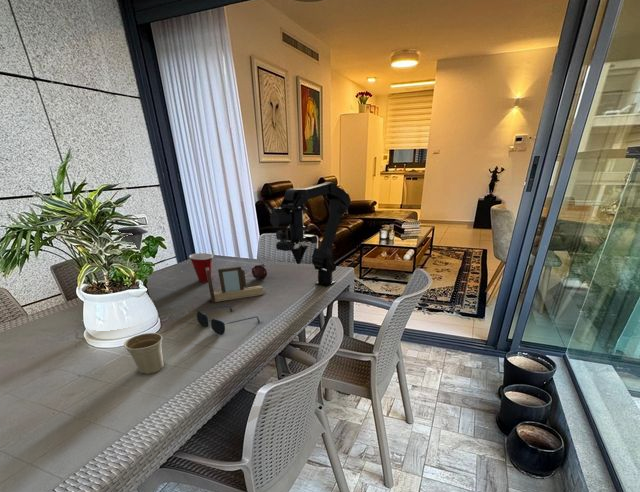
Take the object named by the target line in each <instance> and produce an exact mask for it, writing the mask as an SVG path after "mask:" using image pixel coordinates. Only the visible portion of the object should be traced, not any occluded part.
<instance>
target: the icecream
mask: <svg viewBox="0 0 640 492" xmlns="http://www.w3.org/2000/svg"><path fill="white" fill-rule="evenodd" d="M251 274H252V277H253V278H255V279H257V280H258V281H259V280H264V279H265V278H267V276H268V272H267V268H266V264H265V263H262V264H257V265H254V267H252V268H251Z"/></svg>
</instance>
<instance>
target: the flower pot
mask: <svg viewBox="0 0 640 492" xmlns="http://www.w3.org/2000/svg"><path fill="white" fill-rule="evenodd" d="M162 341H163V335H161V334H160V333H156V332H145V333H141V334H138V335H135V336H132V337H130V338H128V339H127V340H126V341H124V343H123V348H124V349H126V350H127V352H128V353H129V354H130V356H131V358H132V359H133V362H134V363H135V365H136V367H137V369H138V372H140V374H147V375H150V374H154V373H157V372H160V370H161V369H162V368H164V357H163V352H162V351H163V350H162V345H163V342H162Z"/></svg>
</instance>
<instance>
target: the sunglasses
mask: <svg viewBox="0 0 640 492" xmlns="http://www.w3.org/2000/svg"><path fill="white" fill-rule="evenodd" d="M227 307H229V311H230V312H231V313H232V312H233V309H232V307H231V305H229V304H227V305H223V306H217V307H216V306H215V307H211V308H207V309H201V310H197V311H196V319H197V322H198V324H199V325H200V326H201V327H203V328H208V327H209V326H210V327H211V330H212V332H214V333H215V334H216V335H219V336H222V335H224V334H225V333H226V326H225V325H228V324H233V323H238V322H241V321H246V320H251V319H254V318H256V320H257V323H258V324H260V319H259V317H258V316H256V315H255V316H251V317H247V318H243V319H238V320H234V321H230V322H226V323H225V322H224V321H222V320H219V319H216V318H211V319H209V317H208V315H207V314H205V313H203V312H204V311H210V310H215V309H220V308H227Z"/></svg>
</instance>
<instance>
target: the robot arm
mask: <svg viewBox="0 0 640 492" xmlns="http://www.w3.org/2000/svg"><path fill="white" fill-rule="evenodd" d="M323 196H325V198H326V199H327V200H328V201H329V204H328V207H329V216H328V220H327V222H326V226H325V229H324V232H323V236H322V239H321V241H320V245H319V246H318V247H314V249H313V252H312V255H311V263H312V265H313V267H314V270H317V281H316V282H315V284H316V285H320V286H324V287H328V286H330V285H333V284H335V283H336V281H335V280H333V273H334V272H335V271H336V270H337V265H336V263H335V262H334V261H333V257H334V256H333V251H332V249H333V246H334V242H335V239H336V235H337V232H338V229H339V226H340V223H341V220H342V216H343V215H344V214H345V213H347V211H348V210H349V207H350V204H351V197H350V195H349V193H347V192H346V191H345V190H343V189H342V188H341V187H339V186H338V185H337V184H336V183H335V182H331V181H325V182H323V183H320V184H315V185H312V186H309V187H305V188H287V189H286V190H285V192H284V196H283V198H282V201H281V203H280V205H279V207H273V208H272V212H271V213H270V217H269V221H270V224H271V226H272V227H273V228H275V229H277V228H283V227H286V231H283V230H277V231H275V238H276V240H277V242H276V243H275V247H276V251H277V250H278V251H284V252H289V251H290V252H291V254H292V255H293V258H294V261H295V263H296V264H297V265H300V264H301V262H302V260H303V259H304V256H305V253H306V251H307V249H308V248H309V245H307V244H306V243H311V244H313V245H314V244H317V243H318V237H317V236H316V235H314V234H305V230H306V229H307V226H305V225H304V212H307V211H308V208H307V207H306V206H305V204H306V203H308V202H309V201H310V200H312V199H315V198H319V197H323Z"/></svg>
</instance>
